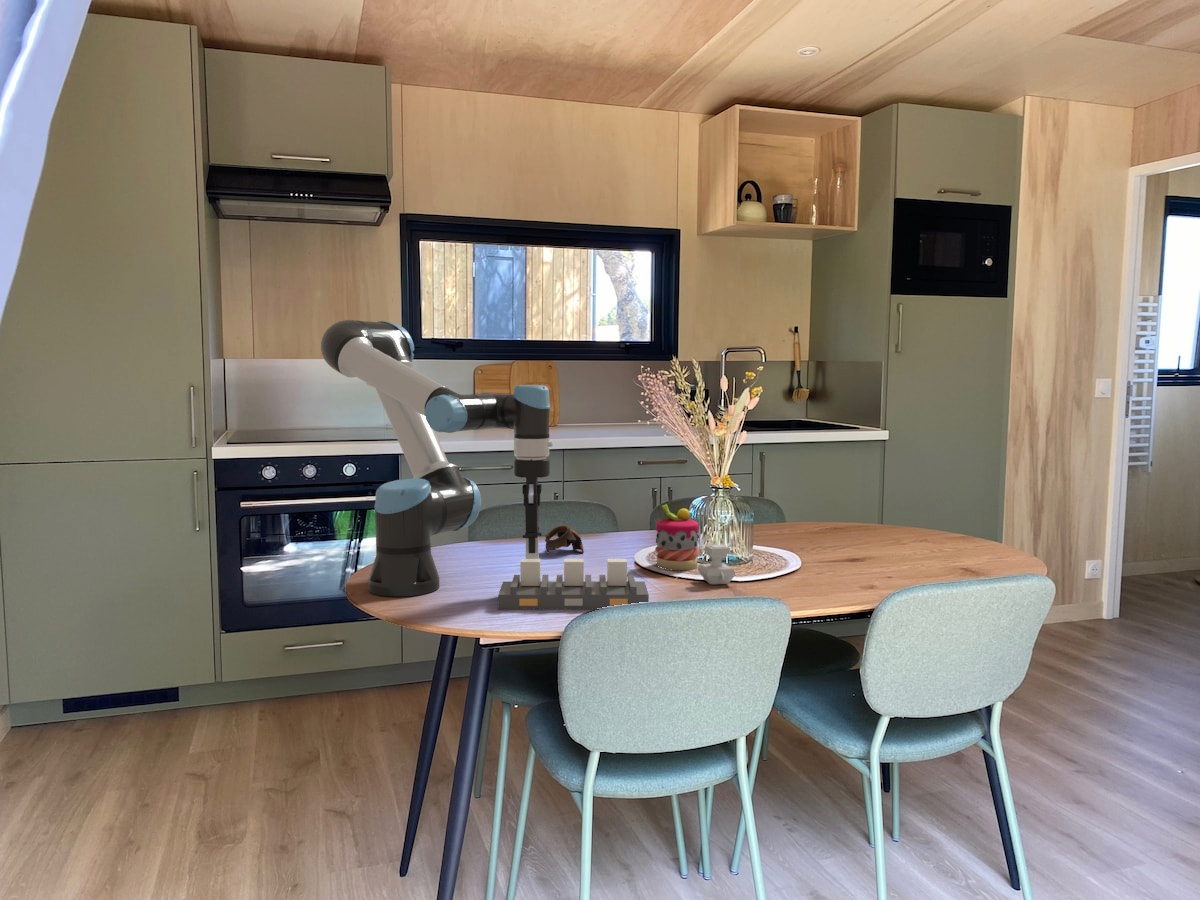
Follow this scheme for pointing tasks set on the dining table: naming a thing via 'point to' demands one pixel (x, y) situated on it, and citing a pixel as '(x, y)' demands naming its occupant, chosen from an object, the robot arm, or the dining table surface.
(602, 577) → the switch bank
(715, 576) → the grey angular blocky piece
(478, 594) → the dining table surface
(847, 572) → the dining table surface
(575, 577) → the tab middle
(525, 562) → the tab left
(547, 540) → the brown broken ring
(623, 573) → the tab right
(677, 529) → the cake
